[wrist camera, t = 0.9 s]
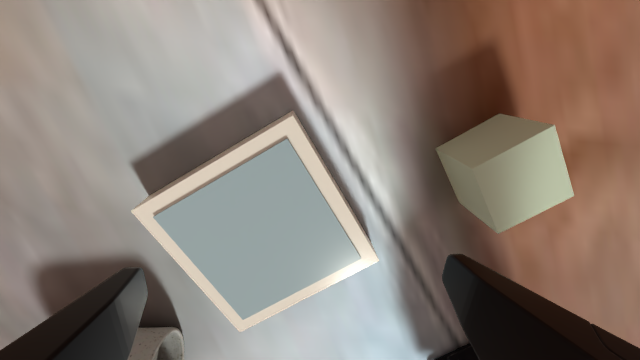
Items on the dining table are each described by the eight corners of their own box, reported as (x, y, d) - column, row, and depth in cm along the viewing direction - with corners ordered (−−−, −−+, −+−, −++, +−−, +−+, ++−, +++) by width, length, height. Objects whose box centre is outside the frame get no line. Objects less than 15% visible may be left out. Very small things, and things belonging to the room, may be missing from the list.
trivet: (371, 242, 24) (379, 262, 22) (245, 308, 26) (239, 334, 23) (293, 110, 20) (292, 115, 18) (148, 195, 22) (129, 212, 19)
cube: (518, 170, 23) (574, 195, 19) (458, 201, 24) (498, 233, 19) (498, 113, 22) (554, 125, 17) (434, 148, 22) (472, 168, 17)
